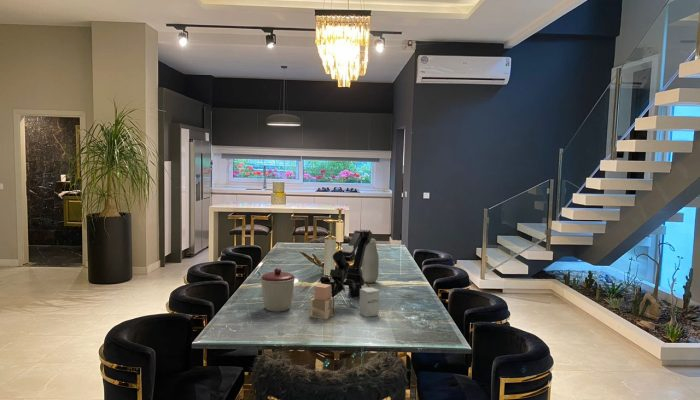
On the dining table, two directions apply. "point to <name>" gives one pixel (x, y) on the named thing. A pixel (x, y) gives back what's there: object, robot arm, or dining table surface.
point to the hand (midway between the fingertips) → (332, 297)
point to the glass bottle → (370, 262)
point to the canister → (277, 290)
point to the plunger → (323, 292)
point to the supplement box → (369, 302)
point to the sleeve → (321, 308)
